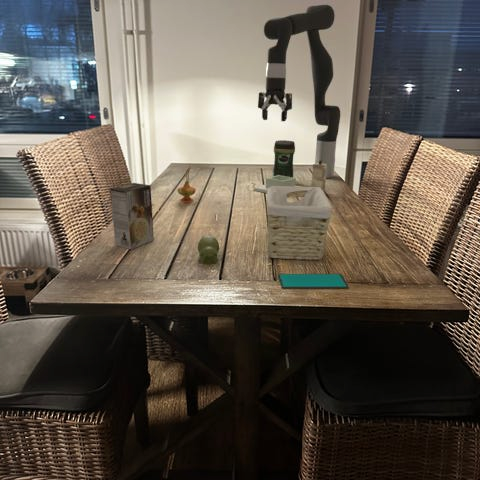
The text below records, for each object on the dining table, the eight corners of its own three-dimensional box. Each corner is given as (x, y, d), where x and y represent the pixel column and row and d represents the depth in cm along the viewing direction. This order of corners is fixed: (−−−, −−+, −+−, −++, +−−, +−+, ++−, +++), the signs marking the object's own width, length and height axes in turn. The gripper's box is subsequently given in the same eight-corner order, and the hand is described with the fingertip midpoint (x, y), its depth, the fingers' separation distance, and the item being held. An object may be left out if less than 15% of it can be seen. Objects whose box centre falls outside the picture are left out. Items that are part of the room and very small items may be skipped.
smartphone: (349, 287, 98) (282, 287, 97) (348, 290, 98) (282, 290, 98) (340, 273, 105) (278, 273, 104) (340, 276, 105) (278, 276, 104)
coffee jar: (293, 181, 204) (296, 140, 199) (292, 184, 197) (295, 141, 191) (272, 179, 205) (274, 139, 200) (271, 182, 198) (273, 140, 192)
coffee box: (138, 236, 128) (134, 182, 123) (154, 240, 125) (151, 185, 120) (114, 245, 121) (109, 188, 116) (131, 250, 118) (126, 191, 112)
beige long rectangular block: (316, 191, 185) (318, 159, 181) (324, 193, 183) (327, 160, 178) (311, 193, 183) (313, 160, 178) (319, 194, 180) (322, 161, 176)
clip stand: (276, 184, 197) (276, 172, 195) (306, 190, 187) (307, 178, 185) (253, 190, 185) (254, 178, 184) (285, 196, 176) (285, 184, 174)
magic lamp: (173, 207, 158) (172, 177, 154) (180, 195, 175) (179, 167, 171) (192, 207, 158) (192, 177, 154) (197, 195, 175) (197, 168, 171)
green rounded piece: (219, 232, 116) (220, 251, 107) (218, 249, 119) (219, 270, 110) (197, 232, 115) (197, 252, 107) (197, 249, 118) (197, 270, 109)
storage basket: (265, 231, 135) (267, 184, 130) (318, 233, 134) (322, 185, 129) (264, 261, 113) (266, 205, 108) (328, 264, 112) (333, 207, 107)
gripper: (297, 77, 167) (294, 121, 172) (265, 76, 175) (264, 118, 180) (286, 76, 161) (284, 122, 167) (254, 76, 169) (253, 120, 175)
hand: (274, 120), depth 173 cm, fingers open, 8 cm apart
